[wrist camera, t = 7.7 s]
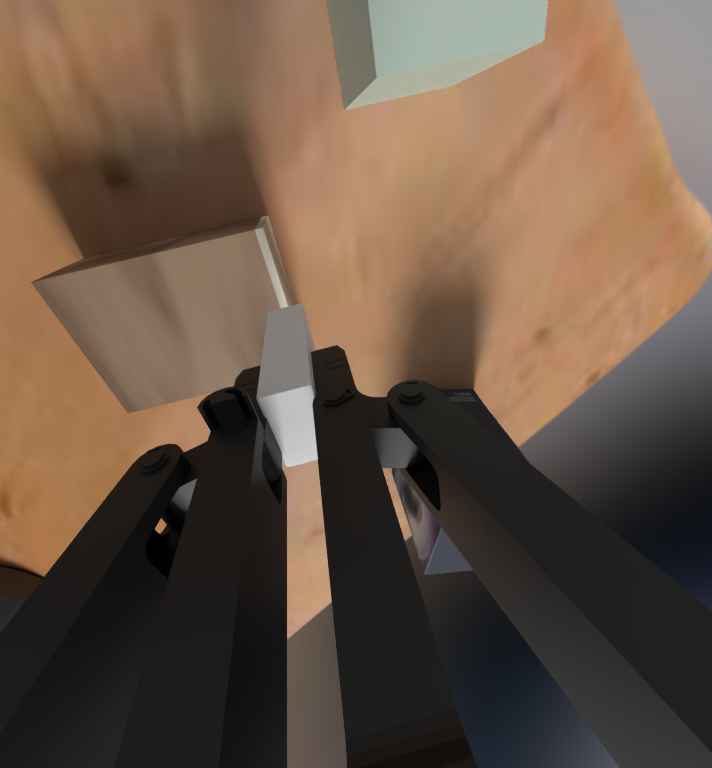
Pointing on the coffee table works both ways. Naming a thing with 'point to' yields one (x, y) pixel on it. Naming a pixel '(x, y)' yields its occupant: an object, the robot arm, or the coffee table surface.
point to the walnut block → (173, 310)
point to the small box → (425, 529)
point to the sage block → (425, 42)
